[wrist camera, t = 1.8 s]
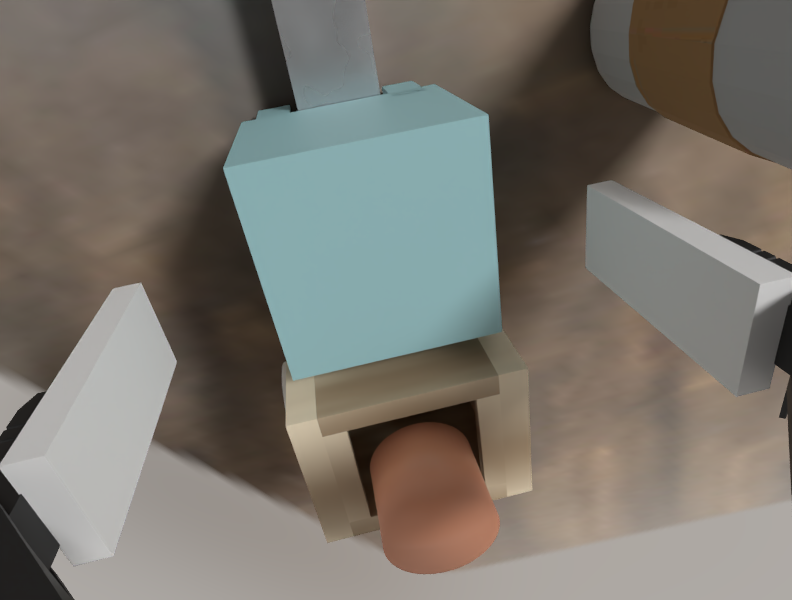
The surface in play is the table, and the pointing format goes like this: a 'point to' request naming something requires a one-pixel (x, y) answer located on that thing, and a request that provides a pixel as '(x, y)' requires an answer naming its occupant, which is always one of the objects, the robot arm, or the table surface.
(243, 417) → the table surface
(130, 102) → the table surface
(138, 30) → the table surface
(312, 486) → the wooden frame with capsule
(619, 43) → the coffee cup
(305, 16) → the rail
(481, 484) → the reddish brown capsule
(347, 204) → the block
